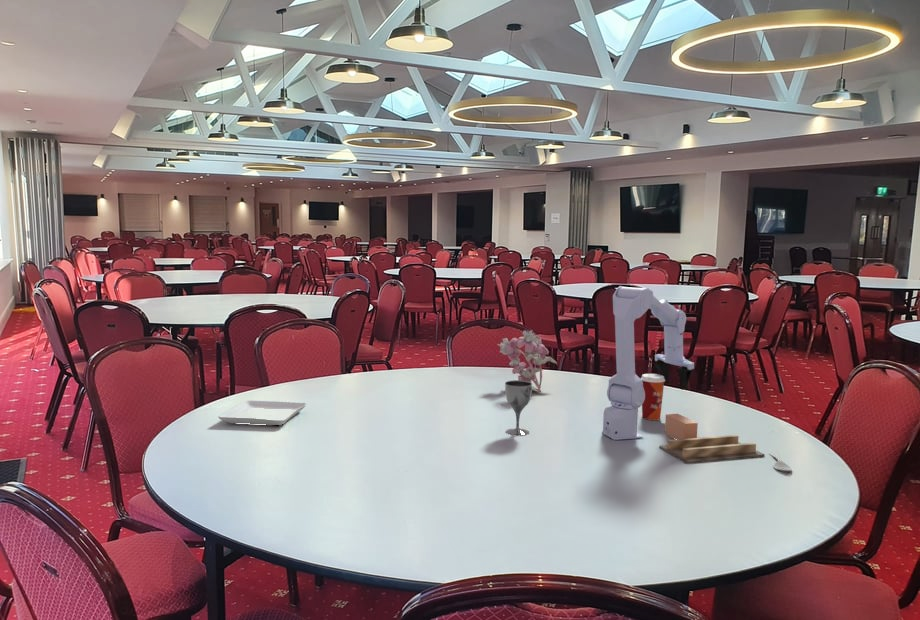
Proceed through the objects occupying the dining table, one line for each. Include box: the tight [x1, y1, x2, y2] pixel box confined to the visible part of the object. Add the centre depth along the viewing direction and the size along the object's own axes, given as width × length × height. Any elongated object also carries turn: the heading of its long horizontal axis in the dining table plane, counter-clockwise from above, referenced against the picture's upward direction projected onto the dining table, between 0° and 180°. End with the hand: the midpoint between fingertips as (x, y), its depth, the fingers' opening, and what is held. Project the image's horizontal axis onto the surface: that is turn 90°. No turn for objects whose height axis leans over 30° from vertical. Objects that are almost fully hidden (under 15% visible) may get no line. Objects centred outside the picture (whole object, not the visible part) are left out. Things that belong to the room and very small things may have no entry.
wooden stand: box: [659, 434, 766, 464], centre depth 179 cm, size 24×13×3 cm, turn 105°
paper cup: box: [640, 373, 665, 421], centre depth 211 cm, size 8×8×14 cm
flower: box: [497, 329, 558, 394], centre depth 250 cm, size 20×22×25 cm
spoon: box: [768, 451, 792, 472], centre depth 172 cm, size 4×21×2 cm, turn 165°
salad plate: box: [218, 400, 307, 426], centre depth 207 cm, size 21×21×3 cm
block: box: [664, 413, 699, 440], centre depth 191 cm, size 10×4×6 cm, turn 15°
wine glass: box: [504, 380, 533, 437], centre depth 194 cm, size 8×8×15 cm
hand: (674, 385), depth 211 cm, fingers open, 7 cm apart
